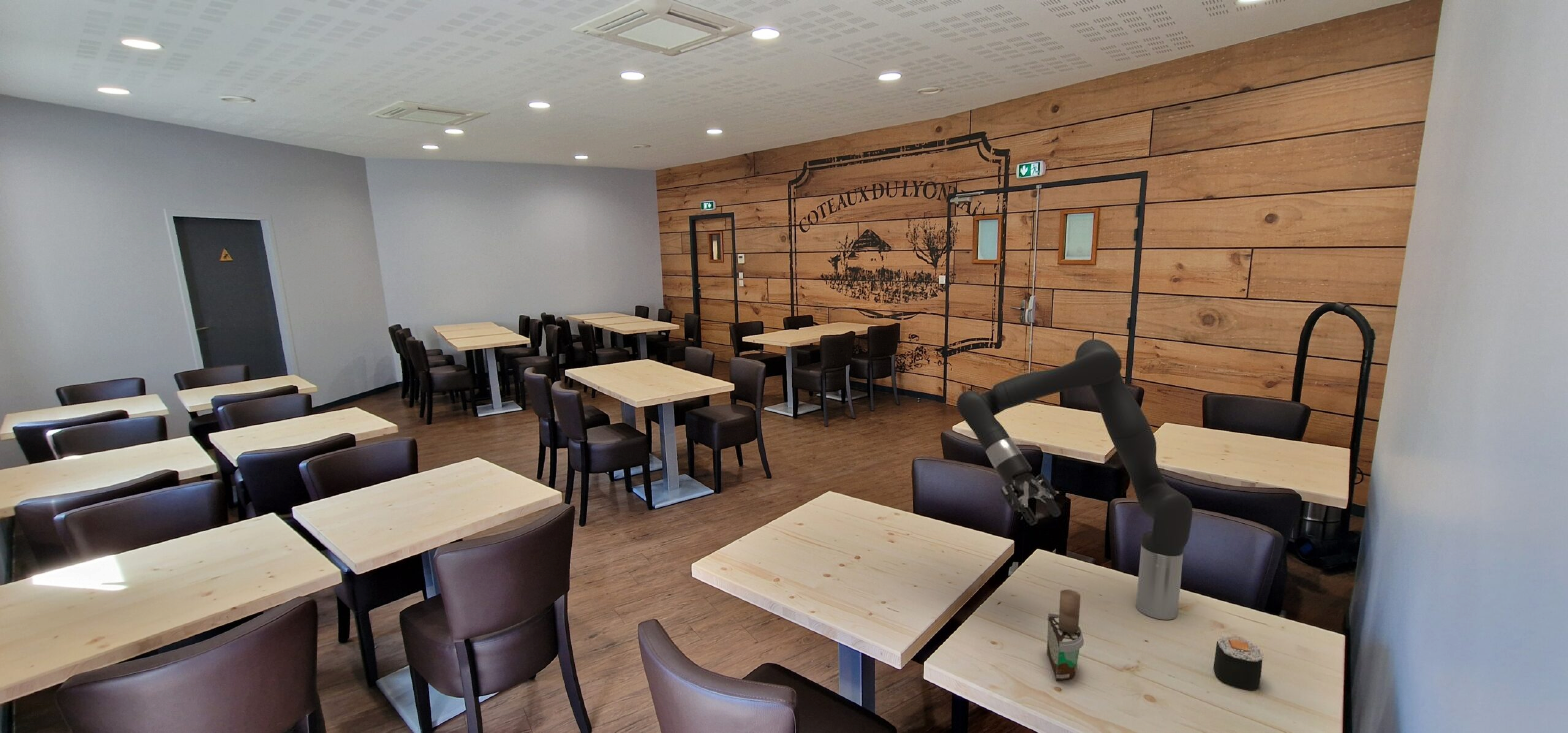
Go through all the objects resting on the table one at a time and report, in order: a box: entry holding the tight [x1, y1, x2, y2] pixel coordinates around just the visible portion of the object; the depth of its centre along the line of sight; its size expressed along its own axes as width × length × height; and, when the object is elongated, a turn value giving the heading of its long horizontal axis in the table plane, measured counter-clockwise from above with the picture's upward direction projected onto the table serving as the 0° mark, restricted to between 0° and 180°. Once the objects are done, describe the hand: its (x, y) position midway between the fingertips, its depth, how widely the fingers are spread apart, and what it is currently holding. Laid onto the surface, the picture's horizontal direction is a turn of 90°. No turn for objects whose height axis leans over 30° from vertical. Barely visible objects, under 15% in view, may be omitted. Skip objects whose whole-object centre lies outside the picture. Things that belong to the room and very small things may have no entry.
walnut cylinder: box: [1058, 589, 1081, 633], centre depth 137 cm, size 4×4×8 cm
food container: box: [1046, 612, 1085, 682], centre depth 139 cm, size 12×6×10 cm, turn 169°
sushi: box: [1213, 635, 1265, 691], centre depth 135 cm, size 8×8×8 cm
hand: (1046, 519), depth 147 cm, fingers open, 8 cm apart
